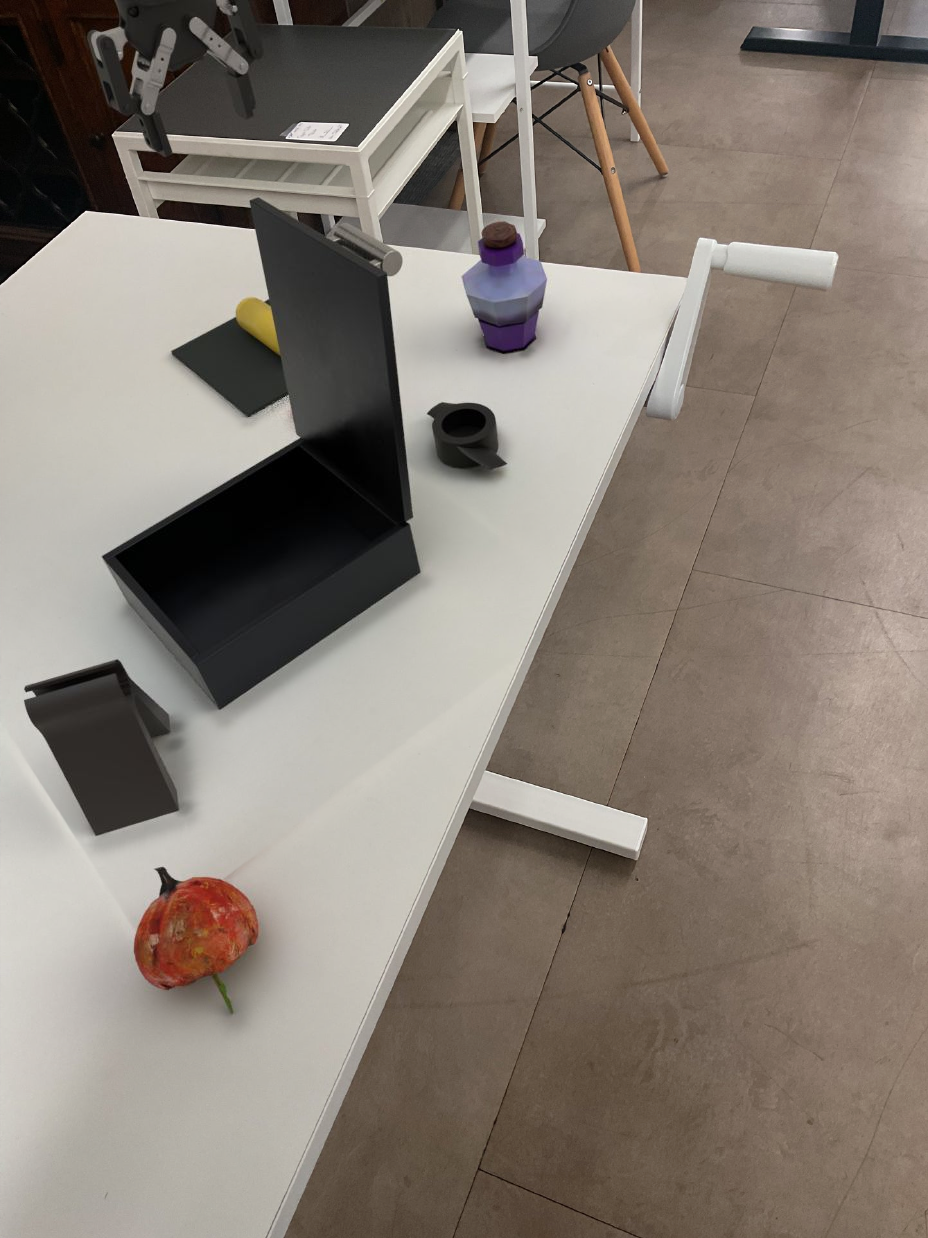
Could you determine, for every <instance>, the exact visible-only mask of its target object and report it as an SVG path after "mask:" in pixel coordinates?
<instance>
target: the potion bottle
mask: <svg viewBox="0 0 928 1238" xmlns="http://www.w3.org/2000/svg"><path fill="white" fill-rule="evenodd" d="M477 246H478V254H479V257H480V260H479V261H477V263H475V264H474V265H473V266H472V267H470V268H469V269H468V270H467V271H466V272H464V273H463V274H462V275H461V276H460V277H461V280H462V284H463V287H464V288H463V289H464V291H465V295H466V298H467V301H468V303H469V306H470V308H471V311H472V314H473V316H474V318H475V319H477V322H478V324H479V327H480V329H481V333H482V335H483V336H482V337H483V341H484V344H485V348H486V349H487V350H490V351H493V352H497V353H499V354H503V355H506V354H510V353H511V354H512V353H517V352H521V351H526V350H527V349H528V347H530V346H531V345H532V344H533V343H534V342H535V341H536V340H537V335H536V331H537V324H538V318H539V313H540V310H541V309H542V308H543V305H544V300H545V294H546V288H547V281H548V277H547V274H546V272H545V269H544V267H543V264H542V262H541V260H537V259H534V258H530V257H526V256H524V255H525V251H524V241H523V239H522V237H521V233H519V232H517V228H516V226H515V224H511V223H509V222H507V221H496V222H492V223H490V224H487V225H486V226H484V227H483V228H482V230H481V238H480V239H479V240H478V241H477Z"/></svg>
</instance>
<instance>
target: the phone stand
mask: <svg viewBox="0 0 928 1238" xmlns="http://www.w3.org/2000/svg"><path fill="white" fill-rule="evenodd" d="M23 690H24V692H25V693H30V692H32V693H33V694H34V696H33V697H28V698H26V699H23V704H24V707H25V711H26V713H27V716H28V718H29V720H30V722H31V724H32V725H33V726H34V727H35V729H36V730H38V732H39V733H40V734H41V735H42V737H43V738H44V740H45V742H46V743H47V746H48V748H49V749H50V751H51V753H52V755H53V757H54V759H55V760H56V763H57V765H58V766H59V767H58V768H59V769H60V771H61V772H62V774H63V776H64V778H65V780H66V782H67V784H68V786H69V788H70V790H71V791H72V793H73V795H74V797H75V799H76V801H77V804H78V805H79V807H80V809H81V810H82V813H83V815H84V816H85V819H86V821H87V823H88V824H89V826H90V828H91V830H92V832H93V834H94V836H95V837H98V836H101V835H105V834H108V833H111V832H114V831H117V830H121V829H124V828H127V827H131V826H134V825H137V824H140V823H143V822H147V821H151V820H152V819H157V818H160V817H163V816H166V815H170V814H173V813H176V812H179V811H180V807H179V797H178V789H177V787H176V786H175V784H174V781H173V780H172V777H171V775H170V773H169V772H168V769H167V767H166V765H165V763H164V760H163V759H162V756H161V755H160V753H159V751H158V749H157V747H156V745H155V743H154V741H153V738H157V737H160V736H164V735H166V734H170V733H171V731H172V730H171V723H170V715H169V713H168V712H167V711H166V710H165V709H164V708H162V706H161V705H159V703H157V702H156V701H155V700H154V699H153V698H152V697H151V696H150V695H149V694H147V692H146V691H144V690H143V689H142V688H141V687H140V686H139V685H138V684H137V683H136V682H135V681H134V680H133V679H132V678H131V677H130V675H129V674H128V672H127V670H126V668H125V667H124V665H123V663H122V662H121V661H120V660H119V659H118V658H117V659H113V660H109V661H106V662H103V663H99V664H96V665H93V666H88V667H85V668H82V669H78V670H76V671H75V670H74V671H71V672H69V673H65V674H62V675H61V674H60V675H58V676H54V677H51V678H47V679H44V680H41V681H37V682H34V683H30V684H27V685H24V688H23Z"/></svg>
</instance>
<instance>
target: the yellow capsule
mask: <svg viewBox="0 0 928 1238" xmlns="http://www.w3.org/2000/svg"><path fill="white" fill-rule="evenodd" d="M235 317H236V319H237V321H238V323H239V325H240V326H241V327H242V328H243V329H244V330H246V331H247V332H248V333H250V334H251V335H253V336H254V337H255V338H257V339H258V340H259V341H261V342H262V343H263V344H265V345H266V346H267V347H269V348H270V349H272V350H273V351H274V352H276V353H277V354H278V355H280V351H279V346H278V341H277V336H276V331H275V326H274V321H273V316H272V311H271V306H269V305H268V304H266V303H265V301H263V300H262V299H260V298H258V297H254V296H249V297H246V298H243V299H241V301H240V302H239V303H238V304H237V306H236V309H235Z"/></svg>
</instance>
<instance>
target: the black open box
mask: <svg viewBox="0 0 928 1238" xmlns="http://www.w3.org/2000/svg"><path fill="white" fill-rule="evenodd" d="M415 545H416V544H415V541H414V535H413V531H412V527H411V524H410V523H409V522H408V521H406V522H405V521H404V520H402V519H401V518H400V517H399V516H397V515H396V514H395V513H394V512H392V511H391V510H390V509H389V508H387V507H386V506H385V505H384V504H382V503H381V502H380V501H379V500H377V499H376V498H375V497H374V496H372V495H371V494H370V493H369V492H367V491H366V490H365V489H364V488H362V487H361V486H360V485H359V484H357V483H356V482H355V481H354V480H353V479H351V478H350V477H349V476H348V475H346V474H345V473H344V472H343V471H341V470H340V469H339V468H338V467H336V466H335V465H334V464H333V463H331V462H330V461H329V460H328V459H326V458H325V457H324V456H323V455H321V454H320V453H319V452H318V451H316V450H315V449H314V448H313V447H311V446H310V445H309V444H308V443H307V442H305V441H304V440H303V439H302V438H300V437H299V438H297V439H296V440H294V441H292V442H290V443H289V444H287V445H285V446H284V447H282V448H280V449H279V450H277V451H276V452H274V453H271V454H270V455H268V456H267V457H265V458H264V459H262V460H260V461H259V462H257V463H255V464H254V465H252V466H250V467H248V468H247V469H245V470H243V471H242V472H240V473H238V474H236V475H235V476H234V477H232V478H230V479H228V480H227V481H225V482H223V483H221V484H220V485H218V486H217V487H215V488H214V489H211V490H210V491H208V492H207V493H205V494H203V495H202V496H200V497H198V498H197V499H194V500H193V501H192V502H190V503H188V504H187V505H185V506H183V507H181V508H180V509H178V510H177V511H175V512H173V513H172V514H170V515H168V516H166V517H165V518H163V519H161V520H160V521H158V522H156V523H154V524H153V525H151V526H150V527H148V528H146V529H145V530H143V531H141V532H139V533H137V534H136V535H134V536H133V537H131V538H130V539H128V540H126V541H124V542H122V543H121V544H119V545H118V546H116V547H115V548H113V549H111V550H109V551H108V552H106V553H104V554H103V555H101V558H102V560H103V562H104V564H105V565H106V567H107V568H108V571H109V573H110V574H111V576H112V578H113V580H114V581H115V583H116V584H117V586H118V589H119V590H120V591H121V593H122V595H123V598H124V599H125V600H126V602H127V603H128V604H129V606H130V607H131V608H132V609H133V610H134V612H135V613H136V614H137V615H138V616H139V617H140V618H141V620H142V621H143V622H144V623H145V624H146V626H148V628H149V629H150V630H151V631H152V633H153V634H154V635H155V636H156V637H157V639H158V640H159V641H160V642H161V643H162V645H164V647H165V648H166V649H167V651H168V652H170V654H171V655H172V657H174V658H175V660H176V661H177V662H178V663H179V665H180V666H181V667H182V668H183V669H184V670H185V671H186V673H187V674H188V675H189V676H190V677H191V679H192V680H193V681H194V682H195V683H196V684H197V686H198V687H199V688H200V689H201V690H202V691H203V692H204V694H205V695H206V696H207V697H208V698H209V699H210V701H211V702H212V703H213V704H214V705H215V707H216V708H217V709H218V710H219V711H221V710H223V709H224V708H225V707H227V706H228V705H230V704H232V702H234V701H235V700H237V699H238V698H240V697H242V696H243V695H244V694H246V693H248V692H249V691H250V690H251V689H253V688H255V687H256V686H257V685H259V684H260V683H262V682H263V681H264V680H266V679H268V678H269V677H270V676H272V675H274V674H275V673H277V671H279V670H281V669H282V668H284V667H285V666H286V665H288V664H290V663H291V662H292V661H294V660H295V659H296V658H298V657H300V656H301V655H303V654H304V653H305V652H308V650H310V649H311V648H313V647H314V646H316V645H317V644H319V643H320V642H321V641H323V640H324V639H326V638H328V637H329V636H330V635H332V634H333V633H335V632H336V631H338V630H339V629H341V628H342V627H343V626H345V625H346V624H348V623H349V622H350V621H352V620H353V619H356V617H358V616H359V615H361V614H362V613H364V612H365V611H367V610H369V609H370V608H371V607H373V606H374V605H376V604H377V603H379V602H380V601H381V600H382V599H384V598H386V597H387V596H389V595H390V594H391V593H393V592H394V591H395V590H397V589H398V588H400V587H401V586H403V585H405V584H406V583H408V582H409V581H411V580H413V578H415V577H417V575H419V574H421V573H422V572H421V567H420V563H419V558H418V554H417V553H418V552H417V549H416V546H415Z"/></svg>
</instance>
